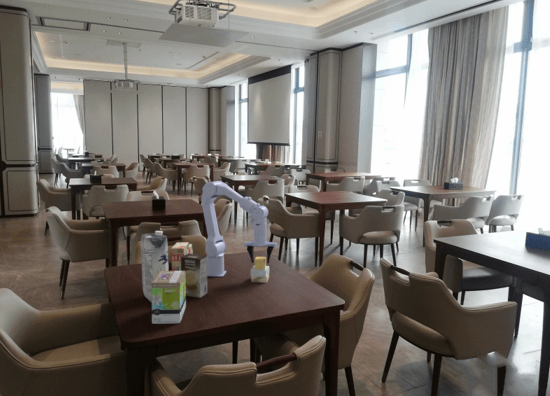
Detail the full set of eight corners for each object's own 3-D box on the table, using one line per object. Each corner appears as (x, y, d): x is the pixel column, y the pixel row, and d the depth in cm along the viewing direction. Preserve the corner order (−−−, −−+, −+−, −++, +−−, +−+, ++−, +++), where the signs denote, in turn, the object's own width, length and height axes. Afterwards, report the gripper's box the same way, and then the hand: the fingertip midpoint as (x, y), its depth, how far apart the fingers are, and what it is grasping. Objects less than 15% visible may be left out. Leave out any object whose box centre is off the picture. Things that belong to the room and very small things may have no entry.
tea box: (181, 323, 149) (180, 282, 147) (151, 324, 148) (149, 282, 147) (186, 307, 164) (185, 269, 162) (159, 308, 163) (158, 270, 161)
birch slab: (251, 282, 194) (251, 276, 194) (254, 278, 201) (254, 271, 201) (266, 283, 194) (266, 276, 193) (269, 278, 200) (269, 272, 200)
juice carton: (148, 303, 168) (146, 235, 164) (141, 296, 176) (138, 230, 173) (171, 299, 172) (169, 232, 169) (162, 292, 181) (160, 228, 178)
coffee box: (180, 295, 177) (179, 256, 175) (188, 290, 183) (187, 253, 181) (200, 297, 174) (199, 258, 172) (208, 292, 180) (207, 255, 178)
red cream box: (181, 261, 230) (180, 238, 228) (193, 261, 230) (192, 238, 228) (171, 273, 209) (170, 247, 207) (184, 273, 209) (184, 247, 207)
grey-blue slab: (250, 276, 194) (250, 269, 194) (254, 271, 201) (254, 265, 201) (265, 277, 193) (265, 270, 193) (269, 272, 200) (269, 266, 199)
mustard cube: (254, 268, 195) (254, 259, 194) (256, 266, 199) (256, 256, 199) (264, 269, 194) (264, 259, 194) (266, 266, 199) (265, 256, 198)
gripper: (242, 234, 192) (242, 264, 193) (275, 235, 190) (275, 265, 192) (245, 231, 199) (245, 260, 200) (277, 232, 197) (277, 261, 199)
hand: (260, 262), depth 197 cm, fingers open, 6 cm apart
